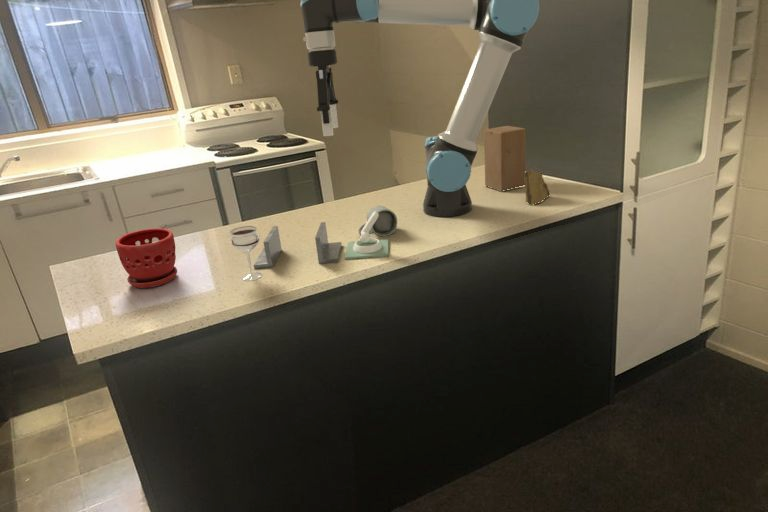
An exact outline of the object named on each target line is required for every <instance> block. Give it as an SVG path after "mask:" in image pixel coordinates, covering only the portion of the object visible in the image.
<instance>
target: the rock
mask: <svg viewBox="0 0 768 512" xmlns="http://www.w3.org/2000/svg"><path fill="white" fill-rule="evenodd" d="M524 179H525V187H524V188H525V203H526V202H528V203H529V204H532V205H533V204H535V203H538V202H541V201H542V200H544V198H546V197H547V196H549V195H550V196H551V193H550V190H549V187H548V185H547V183H546V182H545V180H544V178H543V174H542V173H539V171H536V170H527V171H525V178H524ZM546 199H547V198H546ZM544 201H545V200H544ZM529 204H528V205H529ZM532 205H531V206H532Z"/></svg>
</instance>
